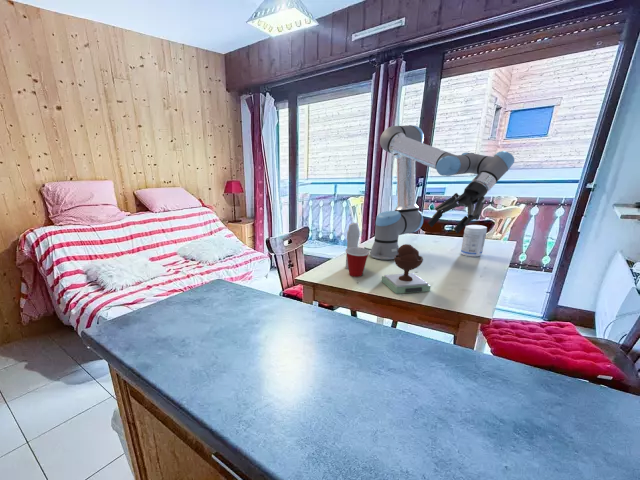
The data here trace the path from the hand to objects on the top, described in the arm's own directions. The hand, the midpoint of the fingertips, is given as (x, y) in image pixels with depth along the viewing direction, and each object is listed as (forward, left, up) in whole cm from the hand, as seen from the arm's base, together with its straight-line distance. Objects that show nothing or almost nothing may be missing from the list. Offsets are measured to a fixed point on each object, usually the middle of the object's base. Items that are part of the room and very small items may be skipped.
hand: (442, 228), depth 134 cm
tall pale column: (-25, -28, -23) cm, 44 cm away
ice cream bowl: (+5, -15, -20) cm, 25 cm away
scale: (+5, -15, -23) cm, 28 cm away
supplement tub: (-30, +37, -23) cm, 53 cm away
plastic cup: (-12, -30, -23) cm, 40 cm away
